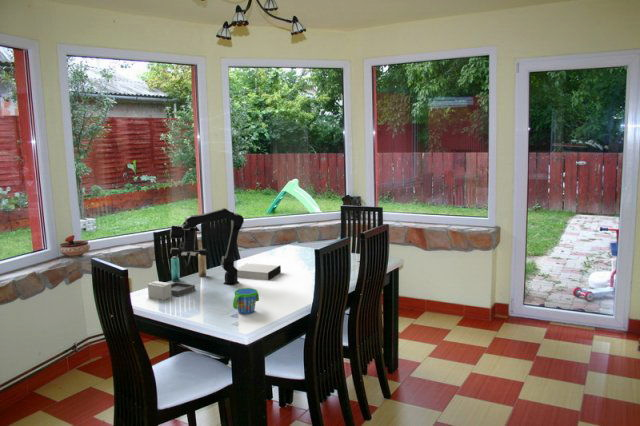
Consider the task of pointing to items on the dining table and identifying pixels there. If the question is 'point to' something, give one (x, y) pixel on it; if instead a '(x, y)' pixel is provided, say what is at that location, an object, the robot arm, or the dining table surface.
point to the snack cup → (245, 300)
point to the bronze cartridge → (202, 265)
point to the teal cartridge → (175, 268)
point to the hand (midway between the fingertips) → (187, 267)
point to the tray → (181, 288)
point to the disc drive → (258, 271)
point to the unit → (159, 290)
